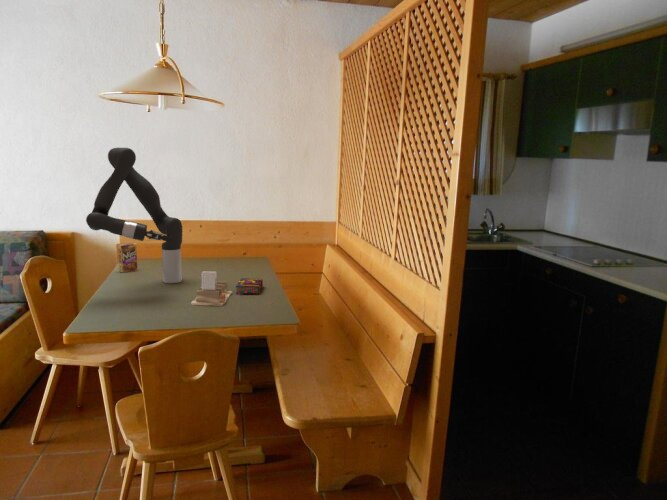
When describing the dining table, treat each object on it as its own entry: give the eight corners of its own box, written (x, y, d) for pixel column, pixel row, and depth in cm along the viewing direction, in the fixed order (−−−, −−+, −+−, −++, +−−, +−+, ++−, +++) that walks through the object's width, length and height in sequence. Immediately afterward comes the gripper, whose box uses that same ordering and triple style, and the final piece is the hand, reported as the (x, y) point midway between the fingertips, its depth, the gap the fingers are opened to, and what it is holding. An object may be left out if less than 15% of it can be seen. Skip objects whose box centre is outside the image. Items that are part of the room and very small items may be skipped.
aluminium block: (203, 299, 235) (203, 271, 232) (216, 299, 235) (216, 271, 232) (202, 301, 232) (201, 272, 229) (215, 301, 232) (214, 273, 229)
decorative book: (263, 287, 262) (263, 277, 261) (259, 296, 246) (259, 285, 245) (240, 286, 262) (240, 277, 261) (235, 295, 246) (235, 285, 245)
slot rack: (203, 292, 249) (203, 280, 248) (232, 293, 248) (232, 281, 247) (191, 304, 229) (190, 291, 228) (222, 305, 229) (222, 292, 228)
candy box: (122, 273, 282) (120, 245, 279) (118, 271, 285) (117, 244, 282) (138, 270, 288) (136, 243, 285) (134, 269, 291) (133, 242, 288)
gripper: (135, 222, 226) (173, 231, 231) (137, 222, 239) (173, 231, 244) (131, 239, 226) (168, 248, 230) (133, 238, 239) (169, 246, 244)
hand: (171, 239), depth 237 cm, fingers open, 8 cm apart
